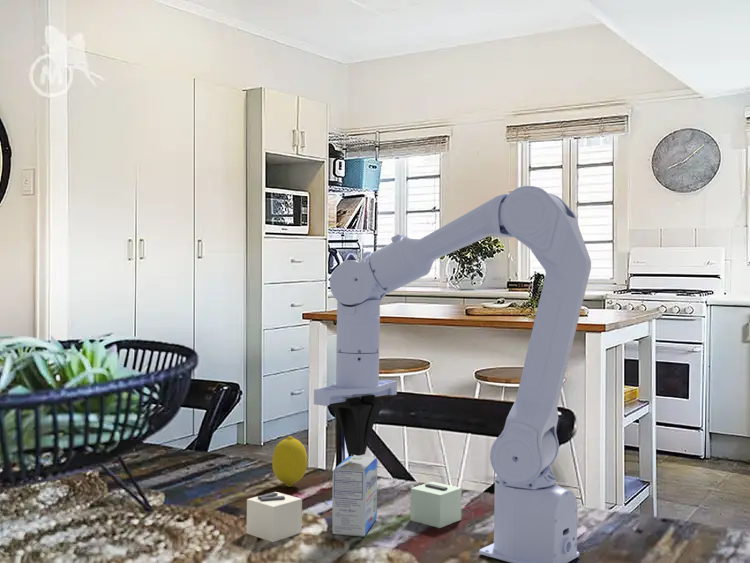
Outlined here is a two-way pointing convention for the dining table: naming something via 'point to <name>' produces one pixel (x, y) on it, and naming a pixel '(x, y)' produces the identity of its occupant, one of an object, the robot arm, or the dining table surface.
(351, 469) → the medicine box
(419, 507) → the sage digit block
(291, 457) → the lemon
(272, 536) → the cream digit block
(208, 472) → the dining table surface
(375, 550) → the dining table surface
